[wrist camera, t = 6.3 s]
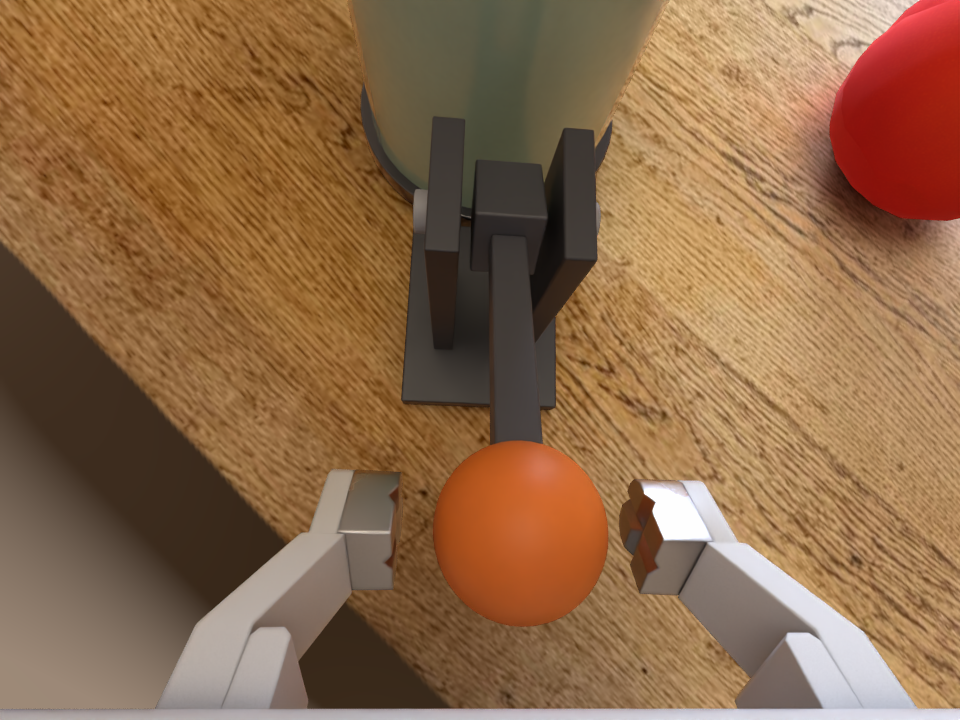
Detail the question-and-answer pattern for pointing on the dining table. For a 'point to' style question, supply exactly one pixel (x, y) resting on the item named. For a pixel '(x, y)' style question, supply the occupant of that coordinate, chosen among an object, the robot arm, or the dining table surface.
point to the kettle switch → (516, 440)
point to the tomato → (905, 116)
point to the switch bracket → (465, 294)
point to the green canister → (493, 77)
